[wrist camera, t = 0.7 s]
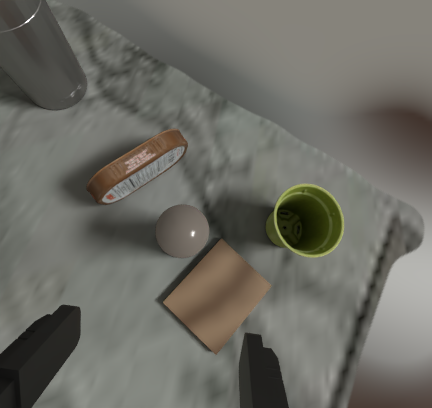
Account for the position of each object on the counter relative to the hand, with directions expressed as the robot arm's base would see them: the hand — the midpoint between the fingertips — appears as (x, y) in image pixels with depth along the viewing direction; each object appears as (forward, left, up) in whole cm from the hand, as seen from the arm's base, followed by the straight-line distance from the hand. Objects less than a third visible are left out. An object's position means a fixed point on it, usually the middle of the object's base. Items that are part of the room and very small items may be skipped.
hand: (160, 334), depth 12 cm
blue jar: (-4, +5, -26) cm, 26 cm away
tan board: (+5, +3, -26) cm, 26 cm away
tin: (-15, +8, -26) cm, 31 cm away
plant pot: (+6, +18, -26) cm, 32 cm away
